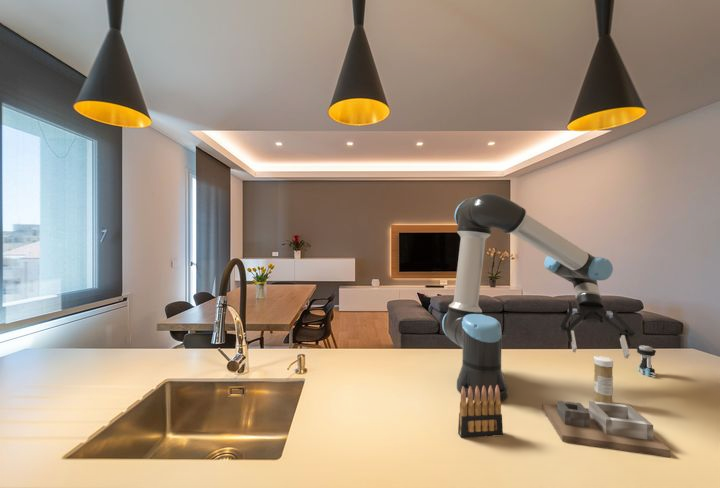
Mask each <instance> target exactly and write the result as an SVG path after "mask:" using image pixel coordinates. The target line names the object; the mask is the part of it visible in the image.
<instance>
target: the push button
mask: <svg viewBox="0 0 720 488" xmlns="http://www.w3.org/2000/svg"><path fill="white" fill-rule="evenodd" d="M635 349H636V353H637V354H639V355H640V364H638V372H639V373H640V374H641V375H644V374H645V376H647V377H653V378H656V376H655V375H657V374H656V373H655V372H656V370H655V369H654V368H653V366H652V357H653V356H655V355H656V353H657V350H655V349H653V346H649V345H642V344H640V345H639V346H637V347H635Z"/></svg>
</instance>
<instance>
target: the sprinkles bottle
mask: <svg viewBox="0 0 720 488" xmlns="http://www.w3.org/2000/svg"><path fill="white" fill-rule="evenodd" d="M593 363H594V377H593V378H594V379H593V382H594V383H593V384H594V385H593V386H594V387H593V390H594V399H593V401H594V402H603V403H612V404H614V403H613V394H614V393H613V392H614V390H613V389H614V387H613V386H614V378H613V377H614V376H613V367H614V360H613V359H612V358H611V357H608V356H603V355H594V356H593Z"/></svg>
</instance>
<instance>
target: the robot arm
mask: <svg viewBox="0 0 720 488" xmlns="http://www.w3.org/2000/svg"><path fill="white" fill-rule="evenodd" d="M454 221H455V224H457V230H456V232H457V234H458V235H459V237H460V241H459V251H458V260H457V267H456V277H455V278H456V279H455V284H454V285H455V286H454V294H453V295H454V297H453V301H452V302H451V303H449V304H448V310H447V312H446V313H445V314H444V316H443V318H442V321H441V327H442V331H443V333H444V334H445V336H446V337H447V338H448V339H449V340H450V341H451V342H453V343H454V344H456V345H457V346H458V347H460V348H461V349H462V363H461V368H460V371H459V374H458V376H457V379H456V390H457V392H458V393H460V394H461V390H462V387H463V386H464V388H465V392H466V398H468V390H469V387H470V386H471V388H472V392H473V400H474V398H475V389H476V386H478V388H479V392H480V402H481V393H482V388H483V386H485V388H486V394H487V401H488V390H489V387H490V385H491V386H492V389H493V399H495V388H496V386H497V385H498V386H499V390H500V401H501V402H502V401H505V400H506V399H507V398H508V386H507V383H506V379H505V376H504V374H503V370H502V336H503V332H502V325H501V323H500V321H499V320H497V318H495V317H492V316H490V315H485V314H483V310H482V308H480V305H479V299H480V292H481V291H480V290H481V282H482V274H483V273H482V272H483V264H484V256H485V249H486V248H485V246H486V240H487V239H488V238H489V237H491V235H492V228H493V229H496V230H499V231H501V232H502V233H504V234H506V235H507V234H508V235H509V234H512V235H514V236H515V237H517V238H518V239H520V240H521V241H524V242H525V243H527V244H529V245H530V246H531V247H533V248H535V249H536V250H538V251H540V252H542V253H544V255H546V257H545V260H544V261H543V266H544V268H545V269H546V270H547V271H550V273H552V274H554V275H557V276H559V277H560V278H562V279H564V280H566V281H568V282H570V283H571V284H572V285H573V290H574V296H575V302H576V306H577V308H573V306H570V305H569V306H568V308H567V313H566V315H565V316H564V319H563V320H562V322H561V324H560V326H559V331H560V332H562V333H563V332H564V333H565V335H566V340H567V342H570V343H571V349H572V353H576V352H577V349H578V348H577V341H576V335H575V331H574V330H575V329H577V328H578V327H579V325H581V324H582V323H583V322H585V321H586V322H587V323H595V324H596V323H597V324H598V323H600V324H601V325H603V326H606V327H607V328H608V329H609V330H610V331H612V332H613V333H615V334H616V335H617V336H618V337H619V341H620V346H621V349H622V353H623V357H624V359H629V357H630V355H631V353H630V347H631V345H632V344H631V340H630V339H634V337H635V334H636V331H634V330H633V329H632V328H631V327H630V326H629V325H628V324H627V323H626V322H625V320H624V319H622V318H621V316H619V314H618V312H617V310H616V309H611V310H606V309H605V307H604V303H603V299H602V296H601V291H600V287H599V285H598V281H606V280H608V279H609V278H610V277H611V276H612V274H613V271H614V268H613V264H612V262H611V261H610V260H609V259H608V258H606V257H601V256H600V257H599V256H593V255H592V254H590V253H588V252H587V251H585V250H584V249H583V248H581V247H579V246H577V245H575V244H574V243H572V242H571V241H569V240H568V239H566V238H565V237H564V236H562V235H560V234H558V233H557V232H555V230H552V229H551V228H549V227H548V226H546V225H544V224H543V223H542V222H540V221H538V220H537V219H535V218H533V217H532V216H530V215H528V214H527V210H526V208H524V207H522V206H520V204H518V203H516V202H514V201H513V200H511V199H508V198H507V197H504V196H503V195H500V194H497V193H493V192H492V193H491V192H485V193H482V194H479V195H477V196H473V197H470V198H469V197H468V198H467V199H464V200H463V201H461V203H459V204H458V205H457V207H456V208H455V211H454ZM575 314H577V315H578V317H577V318H576V319H575V320H573V321H572V323H570V324H569V322H570V320H571V319H572V316H573V315H575ZM611 319H612V320H611ZM568 324H569V326H568Z"/></svg>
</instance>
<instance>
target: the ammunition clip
mask: <svg viewBox="0 0 720 488" xmlns="http://www.w3.org/2000/svg"><path fill="white" fill-rule="evenodd" d="M459 402H460V403H459V413H458V425H457V426H458V428H457V429H458V430H457V431H458V432H457V434H458V435H459V437H460V438H461V439H465V438H466V439H467V438H481V437H482V438H483V437H485V436H486V437H494V436H493V435H502V436H504V434H503V432H504V430H503V428H504V427H503V414H502V401H500V390H499V386H498V385H497V386H496V388H495V399H493V389H492V386H491V385H490V387H489V390H488V401H487V394H486V388H485V386H483V388H482V393H481V401H480V392H479V388H478V386H476V389H475V398H474V399H473V392H472V388H471V386H470V387H469V390H468V397H466V392H465V388H464V386H463V387H462V390H461V393H460V401H459ZM486 437H485V438H486Z"/></svg>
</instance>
